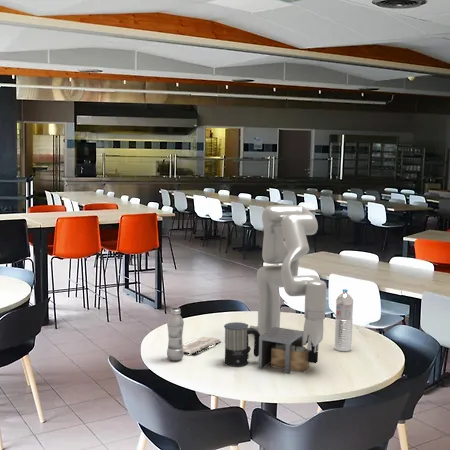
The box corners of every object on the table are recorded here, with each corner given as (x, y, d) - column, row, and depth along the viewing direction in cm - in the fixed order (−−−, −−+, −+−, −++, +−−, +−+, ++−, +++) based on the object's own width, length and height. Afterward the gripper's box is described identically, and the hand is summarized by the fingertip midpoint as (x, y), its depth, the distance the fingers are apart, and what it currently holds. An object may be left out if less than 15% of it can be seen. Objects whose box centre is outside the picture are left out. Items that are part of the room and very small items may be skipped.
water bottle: (351, 352, 256) (353, 291, 253) (334, 351, 257) (336, 290, 254) (351, 347, 263) (353, 288, 260) (334, 346, 264) (336, 287, 261)
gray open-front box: (258, 368, 235) (259, 336, 234) (273, 357, 248) (274, 326, 247) (288, 374, 230) (289, 341, 228) (302, 362, 243) (303, 331, 242)
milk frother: (229, 368, 235) (230, 329, 233) (212, 356, 249) (213, 319, 247) (263, 363, 241) (264, 325, 239) (244, 351, 255) (245, 315, 253)
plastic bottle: (186, 358, 245) (186, 307, 243) (179, 363, 239) (180, 311, 237) (171, 356, 247) (171, 306, 245) (163, 361, 241) (164, 310, 239)
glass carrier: (270, 366, 238) (271, 345, 237) (276, 361, 243) (277, 341, 242) (304, 372, 232) (304, 350, 231) (309, 367, 237) (309, 346, 237)
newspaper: (194, 358, 247) (193, 352, 247) (169, 355, 254) (169, 349, 254) (226, 344, 266) (225, 338, 266) (202, 341, 273) (202, 336, 273)
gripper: (311, 307, 240) (309, 354, 242) (297, 317, 226) (296, 366, 229) (330, 310, 236) (328, 358, 239) (318, 320, 223) (315, 370, 225)
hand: (312, 362), depth 234 cm, fingers closed
